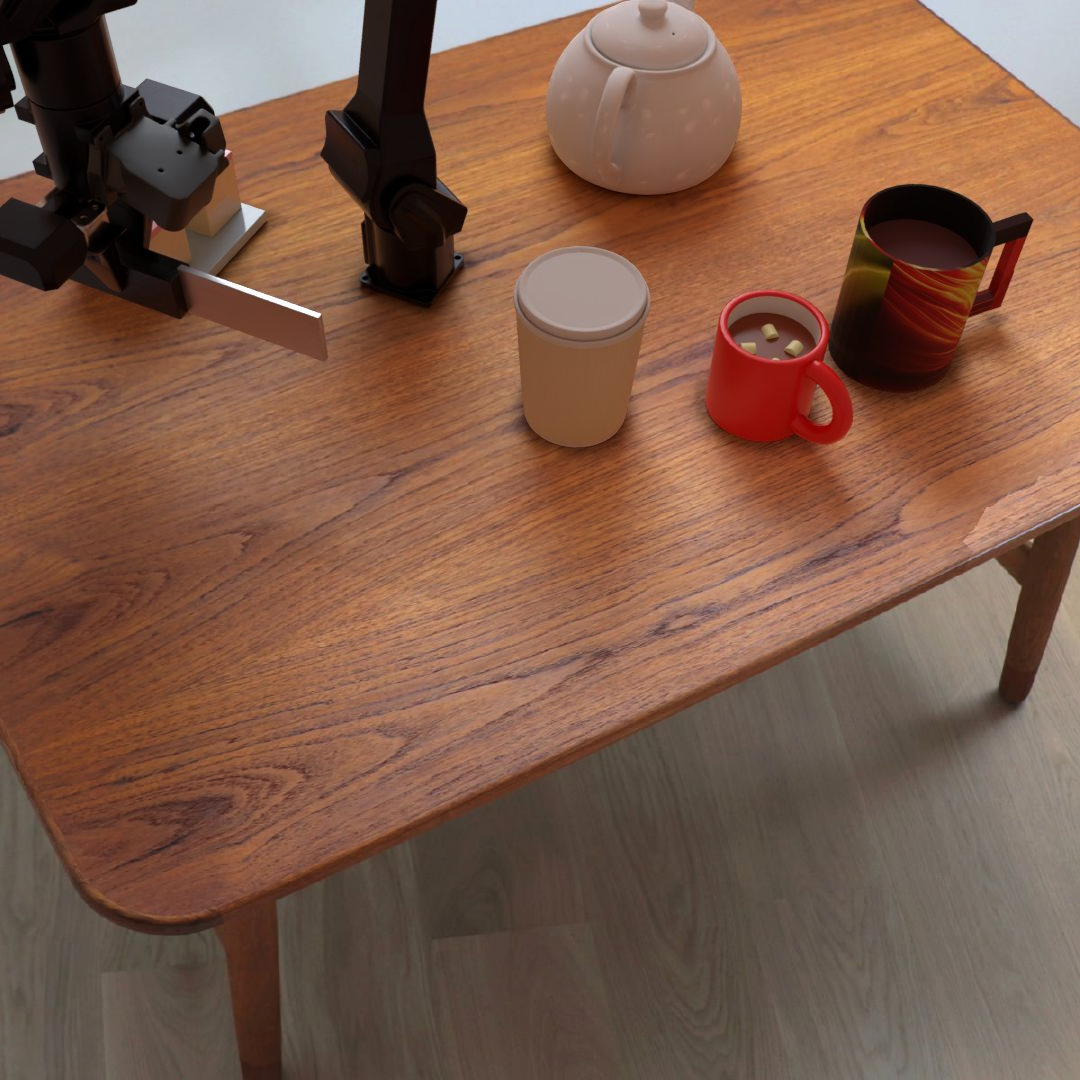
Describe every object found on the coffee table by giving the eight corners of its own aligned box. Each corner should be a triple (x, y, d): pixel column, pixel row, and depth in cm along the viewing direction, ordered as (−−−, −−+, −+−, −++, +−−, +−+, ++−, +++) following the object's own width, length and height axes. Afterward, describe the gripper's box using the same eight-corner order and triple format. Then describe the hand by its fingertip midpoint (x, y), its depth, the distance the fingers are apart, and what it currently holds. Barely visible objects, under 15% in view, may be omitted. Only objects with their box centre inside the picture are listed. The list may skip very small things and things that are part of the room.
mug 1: (806, 490, 97) (827, 415, 91) (683, 400, 103) (695, 322, 96) (874, 435, 101) (899, 359, 95) (752, 350, 106) (768, 273, 100)
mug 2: (998, 315, 109) (1046, 193, 100) (913, 411, 102) (956, 290, 93) (893, 263, 113) (929, 140, 103) (804, 353, 106) (834, 230, 97)
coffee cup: (652, 383, 104) (667, 260, 94) (616, 470, 98) (628, 350, 89) (536, 353, 105) (540, 229, 96) (494, 437, 100) (494, 315, 90)
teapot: (501, 112, 124) (502, -29, 113) (679, 67, 129) (695, -72, 119) (592, 235, 114) (601, 93, 103) (780, 180, 119) (808, 40, 108)
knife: (335, 349, 92) (328, 305, 89) (318, 370, 91) (311, 326, 88) (81, 258, 98) (67, 214, 94) (62, 277, 96) (47, 232, 93)
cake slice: (192, 259, 109) (179, 203, 105) (163, 290, 107) (149, 233, 103) (109, 230, 111) (93, 174, 107) (79, 260, 109) (62, 203, 105)
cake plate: (267, 220, 114) (256, 154, 109) (186, 307, 107) (170, 242, 102) (147, 179, 117) (131, 113, 112) (61, 262, 110) (39, 196, 105)
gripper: (87, 209, 75) (145, 404, 88) (268, 40, 86) (297, 235, 98) (-73, 153, 78) (5, 349, 91) (122, -5, 89) (168, 190, 101)
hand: (128, 278), depth 95 cm, fingers closed on knife, 2 cm apart
